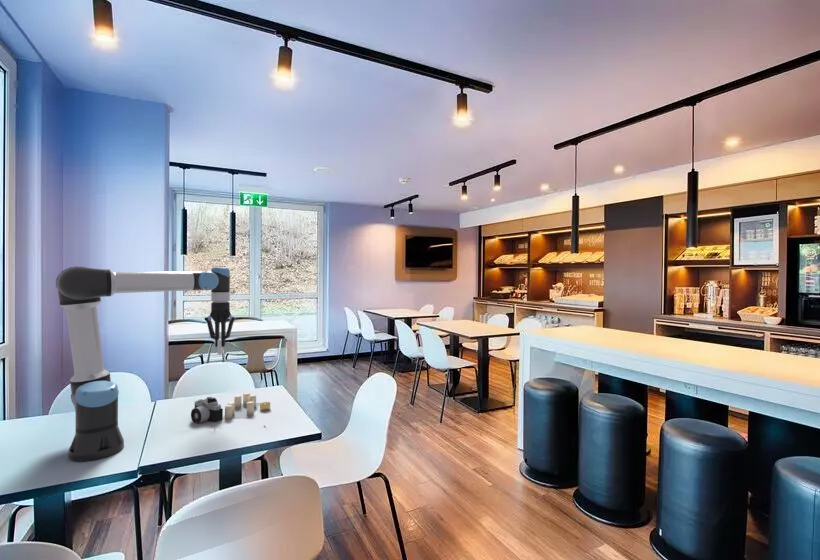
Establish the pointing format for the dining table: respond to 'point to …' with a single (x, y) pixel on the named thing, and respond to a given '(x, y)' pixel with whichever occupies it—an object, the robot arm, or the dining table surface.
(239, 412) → the board
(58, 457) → the dining table surface
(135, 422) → the dining table surface
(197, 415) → the camera
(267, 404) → the nut
